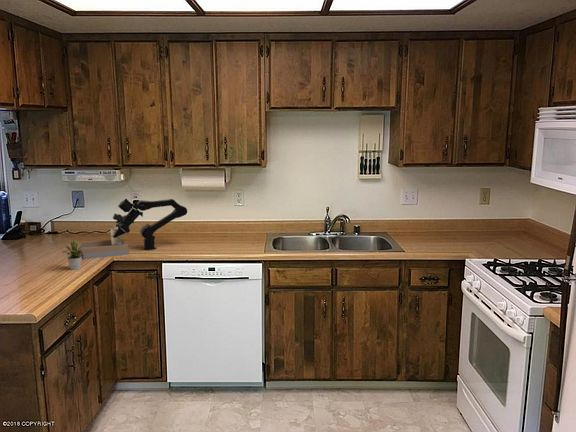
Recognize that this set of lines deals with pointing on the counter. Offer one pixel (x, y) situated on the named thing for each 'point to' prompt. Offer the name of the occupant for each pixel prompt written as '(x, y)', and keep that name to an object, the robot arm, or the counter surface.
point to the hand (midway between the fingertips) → (113, 236)
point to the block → (113, 240)
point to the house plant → (74, 256)
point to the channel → (103, 249)
